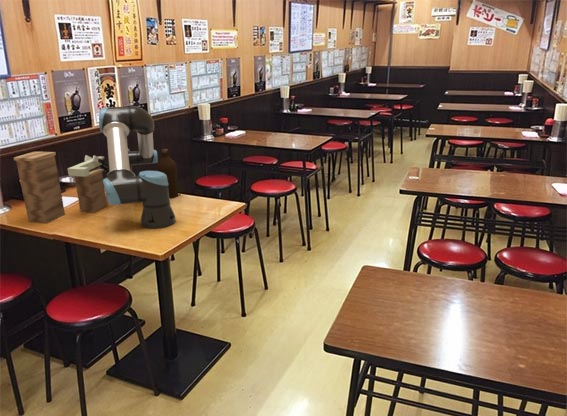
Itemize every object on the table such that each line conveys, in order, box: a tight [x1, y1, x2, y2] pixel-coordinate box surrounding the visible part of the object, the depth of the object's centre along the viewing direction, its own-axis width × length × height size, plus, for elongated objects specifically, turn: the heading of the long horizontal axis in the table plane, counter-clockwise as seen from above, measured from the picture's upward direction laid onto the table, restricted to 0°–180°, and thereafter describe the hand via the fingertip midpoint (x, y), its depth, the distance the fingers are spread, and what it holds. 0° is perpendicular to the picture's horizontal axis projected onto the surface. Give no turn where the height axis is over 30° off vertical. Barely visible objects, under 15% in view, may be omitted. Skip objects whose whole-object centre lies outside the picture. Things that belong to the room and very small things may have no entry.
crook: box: [67, 155, 105, 177], centre depth 218 cm, size 24×8×3 cm, turn 168°
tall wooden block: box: [13, 151, 66, 224], centre depth 209 cm, size 11×13×30 cm
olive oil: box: [155, 148, 179, 199], centre depth 241 cm, size 11×11×25 cm
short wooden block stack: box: [74, 168, 108, 213], centre depth 223 cm, size 9×11×19 cm
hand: (89, 158), depth 220 cm, fingers open, 4 cm apart
